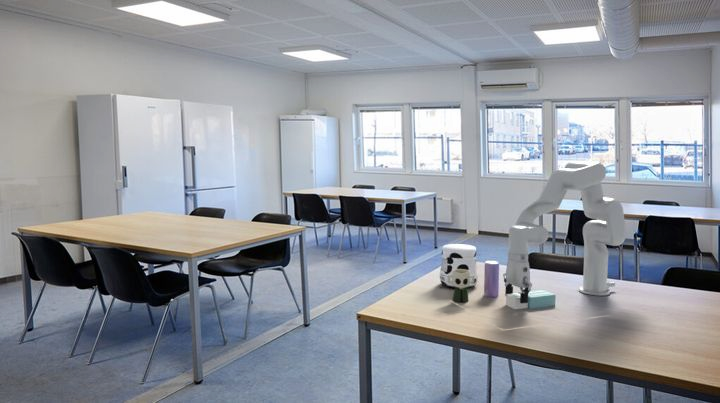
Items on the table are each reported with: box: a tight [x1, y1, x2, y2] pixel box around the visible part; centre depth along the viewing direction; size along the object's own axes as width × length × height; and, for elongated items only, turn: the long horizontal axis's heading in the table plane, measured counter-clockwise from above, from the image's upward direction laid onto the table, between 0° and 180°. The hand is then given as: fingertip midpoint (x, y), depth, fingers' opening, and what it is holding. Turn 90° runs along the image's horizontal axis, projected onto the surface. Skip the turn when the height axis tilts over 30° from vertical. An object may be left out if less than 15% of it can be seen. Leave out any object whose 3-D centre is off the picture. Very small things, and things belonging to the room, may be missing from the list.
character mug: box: [448, 269, 474, 303], centre depth 221 cm, size 11×7×13 cm, turn 86°
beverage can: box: [483, 260, 500, 298], centre depth 228 cm, size 6×6×15 cm
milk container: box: [439, 243, 479, 289], centre depth 246 cm, size 17×17×18 cm
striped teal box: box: [517, 288, 556, 309], centre depth 216 cm, size 12×8×5 cm, turn 109°
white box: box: [505, 292, 529, 310], centre depth 213 cm, size 6×6×5 cm
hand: (516, 299), depth 213 cm, fingers open, 9 cm apart
